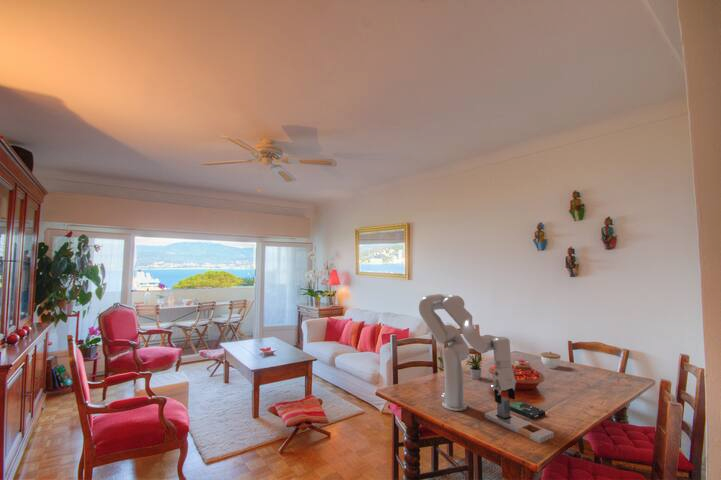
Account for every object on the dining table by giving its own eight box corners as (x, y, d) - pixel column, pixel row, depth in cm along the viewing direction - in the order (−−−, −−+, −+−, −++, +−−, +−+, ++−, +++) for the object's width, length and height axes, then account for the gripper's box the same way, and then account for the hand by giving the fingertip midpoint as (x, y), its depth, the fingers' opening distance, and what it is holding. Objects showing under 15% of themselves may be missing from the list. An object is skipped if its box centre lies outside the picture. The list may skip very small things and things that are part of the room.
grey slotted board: (484, 417, 166) (484, 413, 166) (498, 413, 171) (498, 408, 171) (539, 443, 142) (539, 438, 142) (553, 437, 147) (553, 432, 147)
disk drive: (545, 416, 168) (518, 405, 181) (545, 410, 168) (518, 400, 181) (532, 421, 163) (506, 409, 176) (532, 415, 163) (505, 404, 176)
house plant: (464, 373, 234) (463, 348, 235) (485, 375, 230) (484, 350, 231) (463, 379, 221) (463, 354, 222) (486, 382, 216) (485, 355, 218)
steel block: (497, 420, 163) (496, 398, 164) (503, 418, 165) (502, 396, 166) (504, 423, 160) (504, 401, 160) (510, 421, 162) (509, 399, 162)
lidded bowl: (545, 363, 257) (544, 348, 258) (563, 367, 247) (563, 352, 248) (538, 367, 249) (537, 351, 250) (556, 371, 239) (556, 355, 240)
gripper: (497, 368, 157) (499, 407, 155) (521, 362, 165) (523, 399, 164) (484, 364, 163) (486, 402, 161) (507, 359, 172) (509, 394, 170)
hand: (505, 400), depth 162 cm, fingers open, 9 cm apart
